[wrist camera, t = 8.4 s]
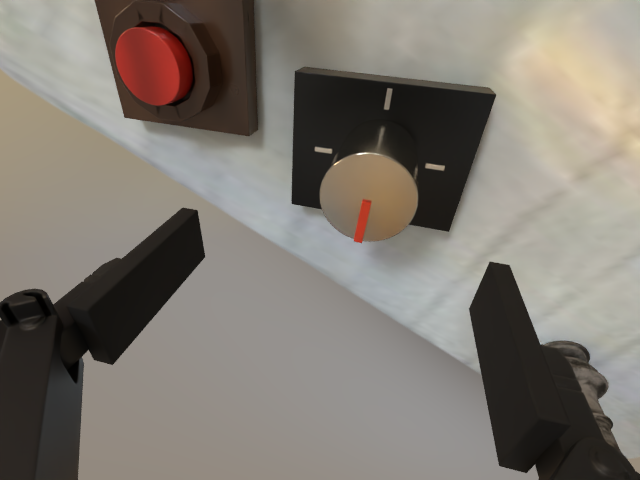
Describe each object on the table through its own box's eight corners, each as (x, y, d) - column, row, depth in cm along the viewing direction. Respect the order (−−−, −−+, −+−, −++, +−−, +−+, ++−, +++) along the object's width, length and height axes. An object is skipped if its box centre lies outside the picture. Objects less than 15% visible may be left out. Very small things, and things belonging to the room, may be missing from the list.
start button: (188, 29, 24) (172, 30, 22) (197, 104, 26) (184, 110, 25) (124, 23, 24) (105, 24, 23) (140, 96, 27) (125, 101, 26)
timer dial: (347, 112, 25) (324, 144, 19) (427, 127, 25) (432, 166, 18) (335, 184, 29) (313, 232, 22) (405, 199, 28) (403, 253, 22)
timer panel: (489, 87, 25) (497, 95, 22) (446, 217, 31) (449, 232, 29) (303, 66, 27) (294, 71, 24) (299, 192, 33) (290, 204, 31)
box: (253, -9, 25) (229, -12, 21) (258, 129, 30) (239, 143, 27) (108, -20, 26) (66, -25, 23) (138, 112, 32) (108, 123, 29)
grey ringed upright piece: (518, 351, 38) (554, 469, 28) (574, 331, 34) (637, 456, 25) (547, 380, 39) (591, 502, 29) (603, 364, 36) (674, 494, 26)
